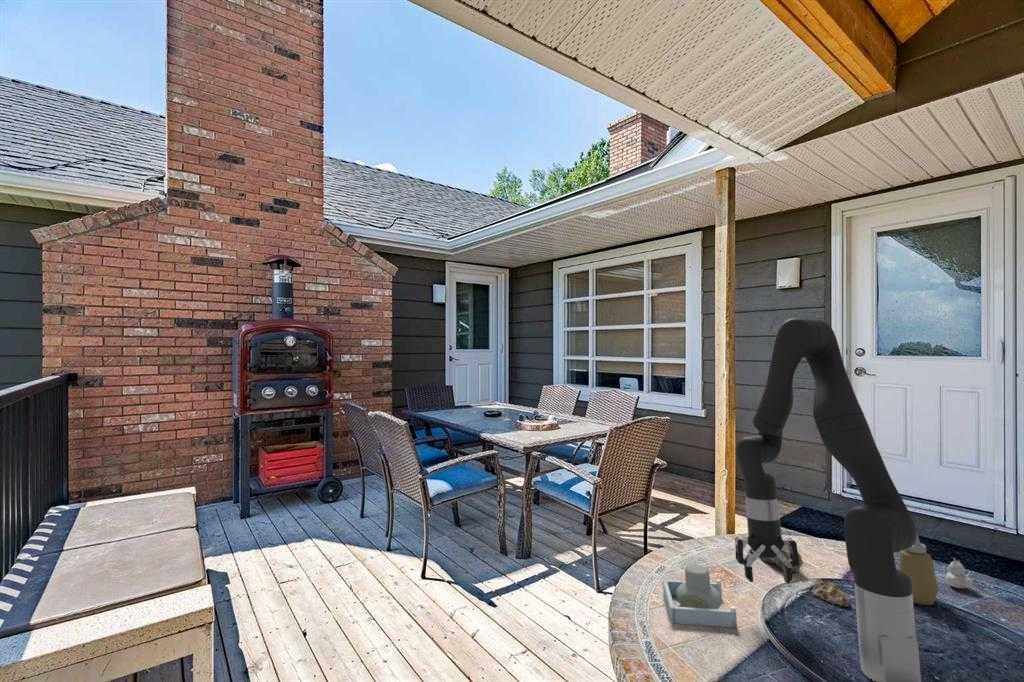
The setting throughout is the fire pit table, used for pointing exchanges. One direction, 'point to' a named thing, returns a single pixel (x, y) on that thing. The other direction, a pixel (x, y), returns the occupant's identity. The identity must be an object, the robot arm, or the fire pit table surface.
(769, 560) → the rock
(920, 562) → the squeeze bottle
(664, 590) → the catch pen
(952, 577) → the rubber duck
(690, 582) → the air freshener
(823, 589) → the mineral rock
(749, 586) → the fire pit table surface
